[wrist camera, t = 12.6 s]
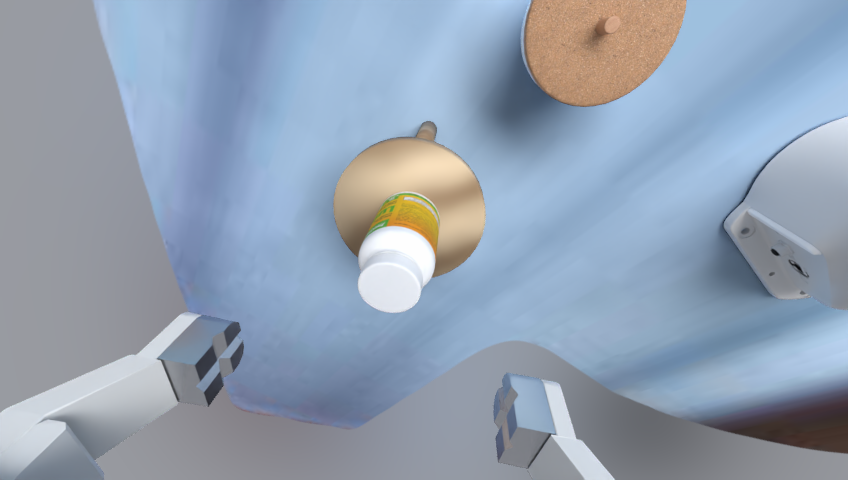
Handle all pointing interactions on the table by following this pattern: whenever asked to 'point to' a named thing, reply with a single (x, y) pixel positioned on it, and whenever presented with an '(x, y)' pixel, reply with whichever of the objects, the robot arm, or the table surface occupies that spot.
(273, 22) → the table surface
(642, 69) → the lidded jar
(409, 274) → the supplement bottle
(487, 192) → the table surface
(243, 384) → the table surface
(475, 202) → the stool
